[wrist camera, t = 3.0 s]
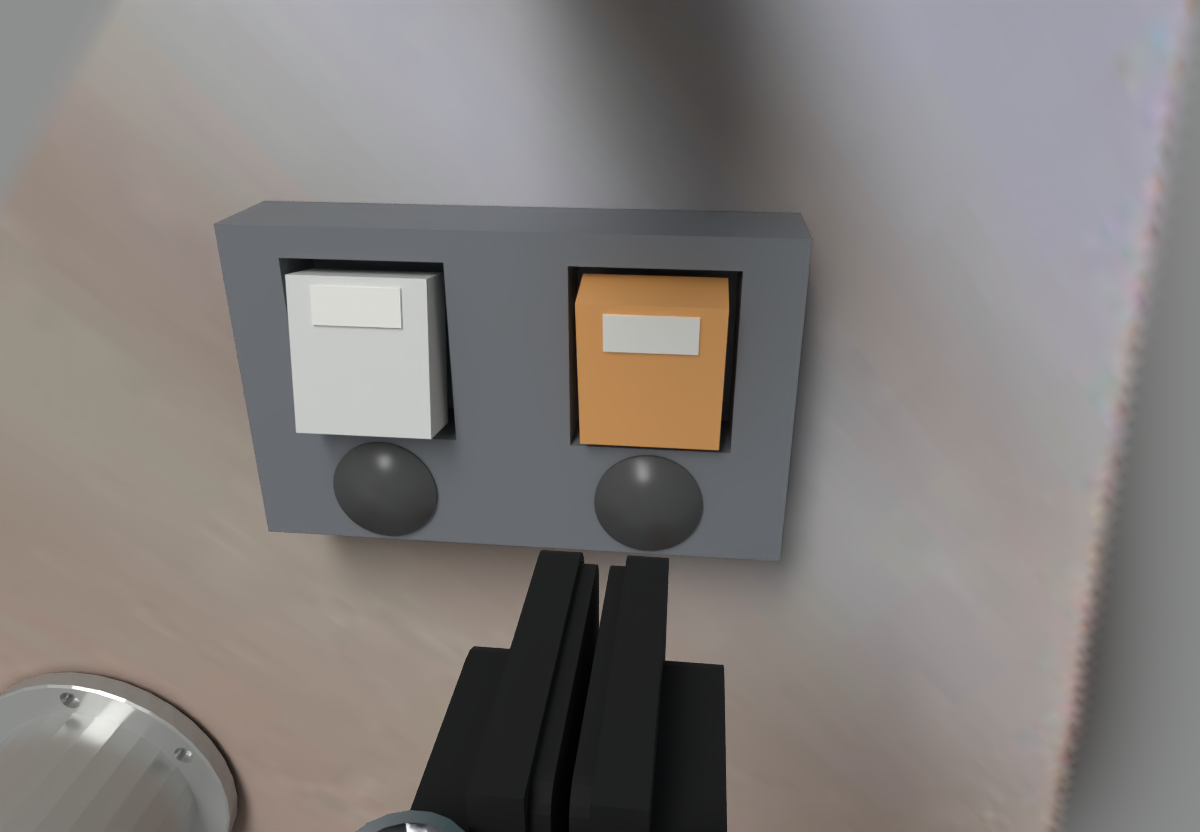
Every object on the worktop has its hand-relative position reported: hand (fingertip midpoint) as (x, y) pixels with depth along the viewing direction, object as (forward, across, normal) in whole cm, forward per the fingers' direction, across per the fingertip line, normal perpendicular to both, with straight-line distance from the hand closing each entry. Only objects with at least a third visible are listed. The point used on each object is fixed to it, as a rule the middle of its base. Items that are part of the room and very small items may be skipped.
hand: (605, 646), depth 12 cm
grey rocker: (+17, +9, +3) cm, 19 cm away
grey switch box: (+20, +5, +4) cm, 21 cm away
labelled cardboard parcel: (+17, 0, +3) cm, 17 cm away
